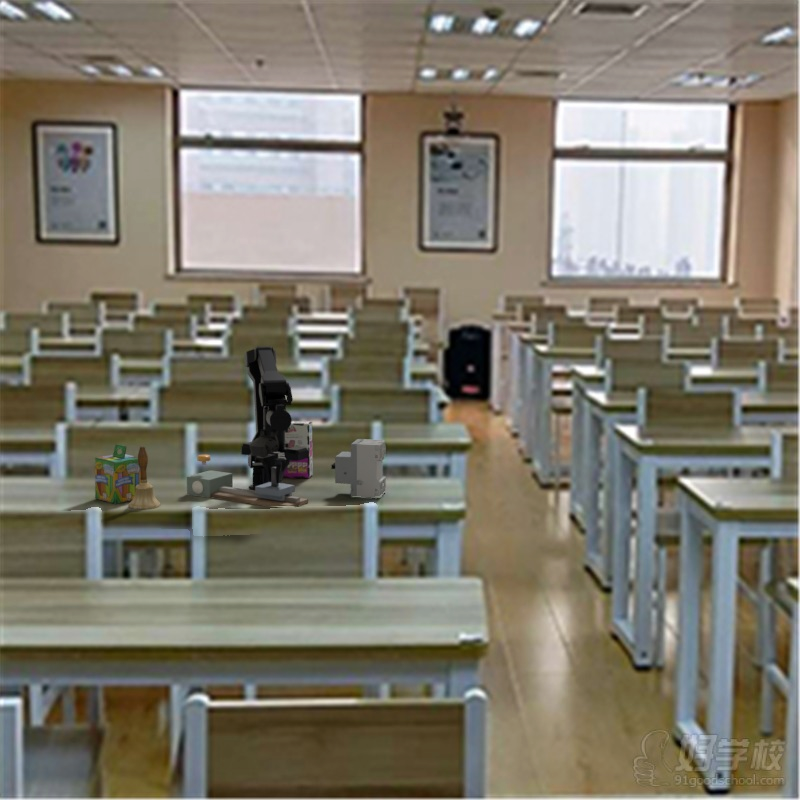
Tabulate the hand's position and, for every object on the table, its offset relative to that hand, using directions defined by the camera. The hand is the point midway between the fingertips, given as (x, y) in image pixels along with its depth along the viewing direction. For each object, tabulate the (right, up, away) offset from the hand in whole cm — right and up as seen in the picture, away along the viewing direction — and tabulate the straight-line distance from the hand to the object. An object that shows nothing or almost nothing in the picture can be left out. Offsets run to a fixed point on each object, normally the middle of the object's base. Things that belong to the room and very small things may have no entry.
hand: (274, 482), depth 314 cm
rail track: (-5, -5, +4) cm, 8 cm away
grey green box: (-19, -4, +12) cm, 23 cm away
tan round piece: (-21, +4, +12) cm, 25 cm away
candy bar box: (+2, -1, +34) cm, 34 cm away
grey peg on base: (0, -4, +1) cm, 4 cm away
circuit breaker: (+22, -4, +11) cm, 25 cm away
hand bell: (-34, -6, -4) cm, 35 cm away
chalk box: (-43, -5, +4) cm, 43 cm away
